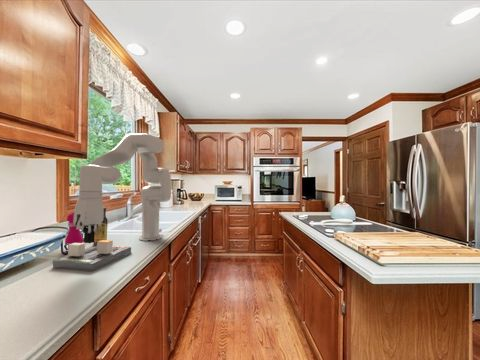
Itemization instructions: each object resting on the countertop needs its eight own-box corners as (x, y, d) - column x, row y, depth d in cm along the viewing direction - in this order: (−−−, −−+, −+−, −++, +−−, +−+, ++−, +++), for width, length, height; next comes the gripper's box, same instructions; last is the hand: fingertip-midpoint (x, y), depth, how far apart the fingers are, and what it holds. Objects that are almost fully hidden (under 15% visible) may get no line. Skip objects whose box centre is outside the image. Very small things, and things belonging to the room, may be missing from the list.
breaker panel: (98, 250, 108) (98, 244, 108) (131, 253, 105) (131, 246, 105) (52, 267, 87) (52, 259, 87) (92, 271, 83) (92, 263, 83)
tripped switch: (102, 251, 97) (102, 239, 97) (112, 251, 96) (112, 240, 96) (96, 253, 94) (97, 241, 94) (107, 253, 93) (107, 242, 93)
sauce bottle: (91, 245, 117) (91, 208, 117) (96, 242, 123) (96, 206, 123) (104, 245, 118) (105, 208, 118) (109, 241, 124) (109, 206, 125)
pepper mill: (86, 247, 113) (87, 208, 113) (74, 252, 106) (75, 210, 106) (73, 247, 114) (74, 208, 114) (60, 251, 106) (61, 210, 107)
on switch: (74, 253, 94) (74, 242, 94) (84, 254, 93) (85, 243, 93) (68, 255, 91) (68, 244, 91) (78, 256, 90) (78, 245, 90)
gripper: (97, 195, 96) (96, 237, 95) (64, 196, 81) (62, 247, 80) (112, 195, 94) (111, 238, 94) (82, 197, 80) (80, 248, 79)
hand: (89, 242), depth 87 cm, fingers closed
